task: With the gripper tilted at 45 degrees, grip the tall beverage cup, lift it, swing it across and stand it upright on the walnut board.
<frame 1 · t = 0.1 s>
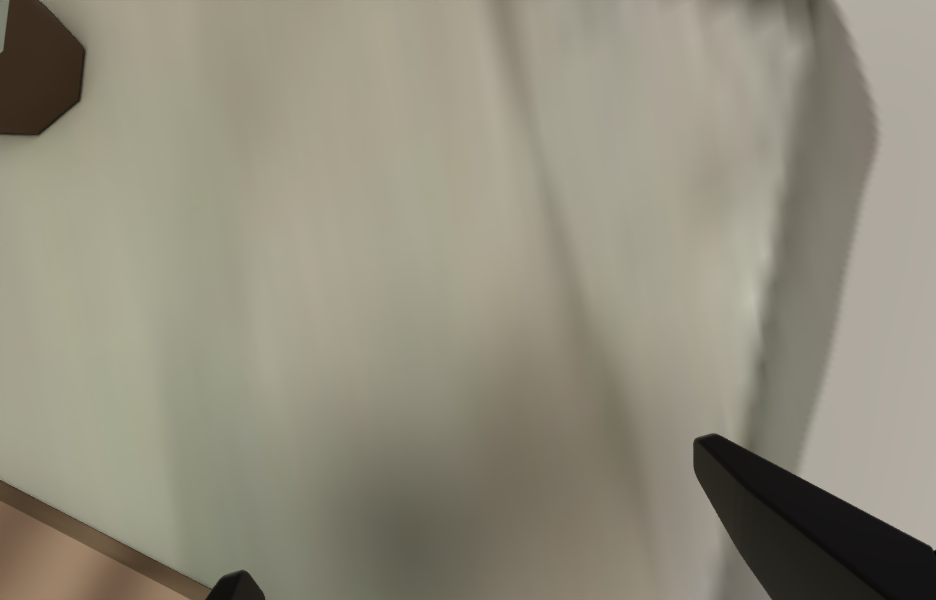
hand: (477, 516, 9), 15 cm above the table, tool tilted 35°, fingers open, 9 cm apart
beer bottle: (22, 75, 26), on the table
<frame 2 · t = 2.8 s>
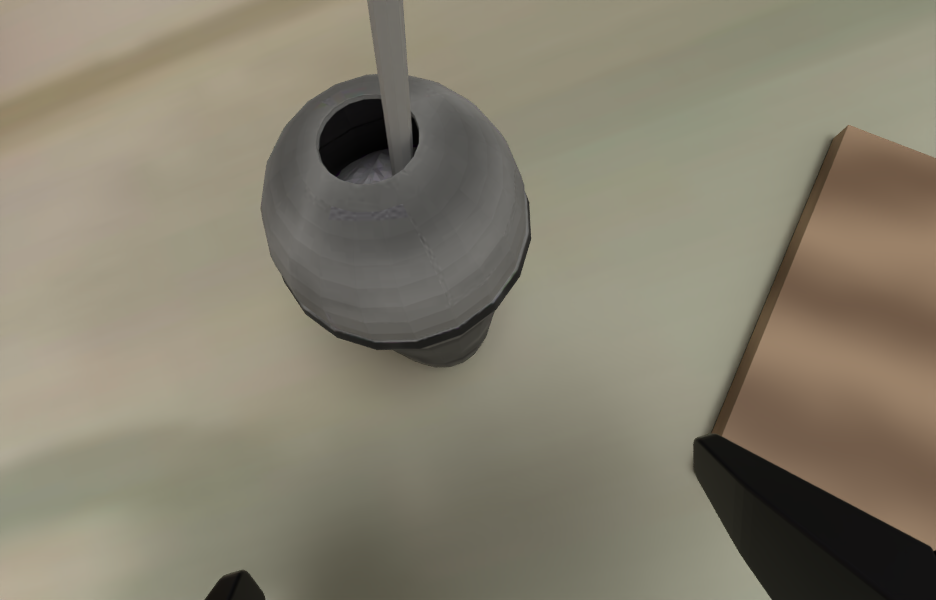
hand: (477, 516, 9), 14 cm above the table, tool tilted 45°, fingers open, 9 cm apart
beverage cup: (443, 324, 25), on the table
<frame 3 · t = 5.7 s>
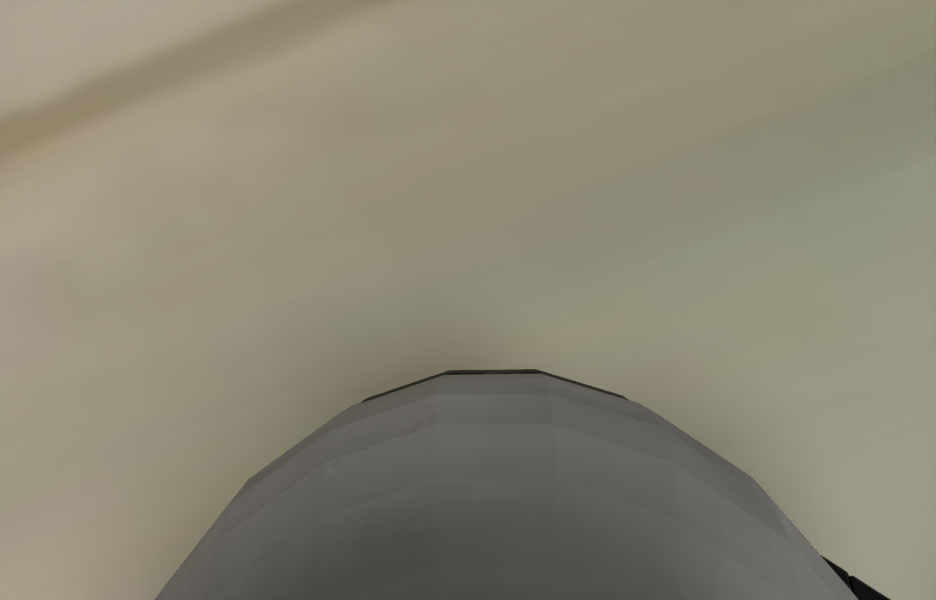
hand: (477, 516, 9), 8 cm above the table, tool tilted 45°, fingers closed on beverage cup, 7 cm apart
beverage cup: (495, 528, 16), on the table, touching gripper
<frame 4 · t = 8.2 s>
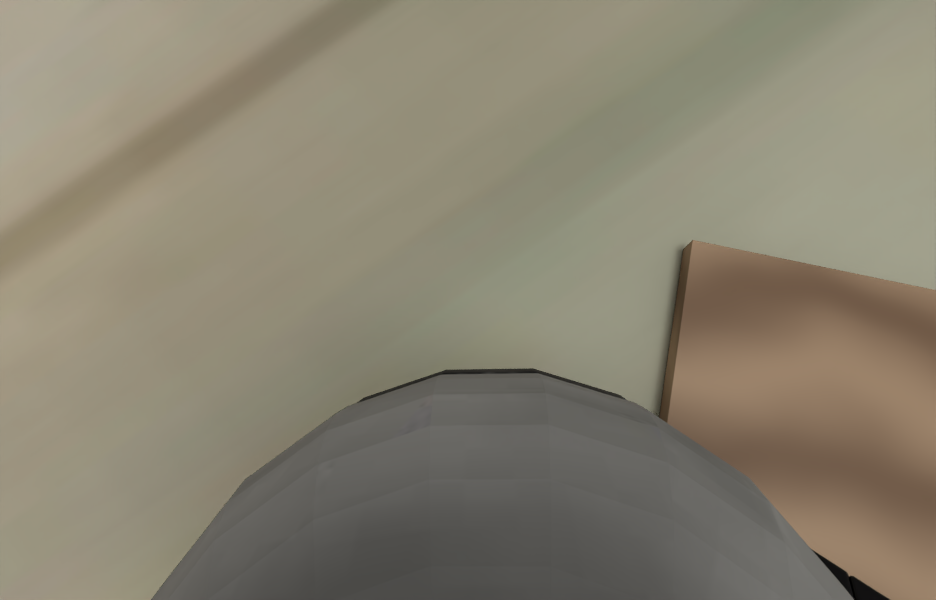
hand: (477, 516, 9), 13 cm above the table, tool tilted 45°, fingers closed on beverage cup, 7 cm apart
beverage cup: (494, 526, 16), point 5 cm above the table, touching gripper
walnut board: (887, 506, 21), on the table
when the fingers open (10 cm above the table, at t = 11.0 s): beverage cup stays where it is, resting on walnut board.
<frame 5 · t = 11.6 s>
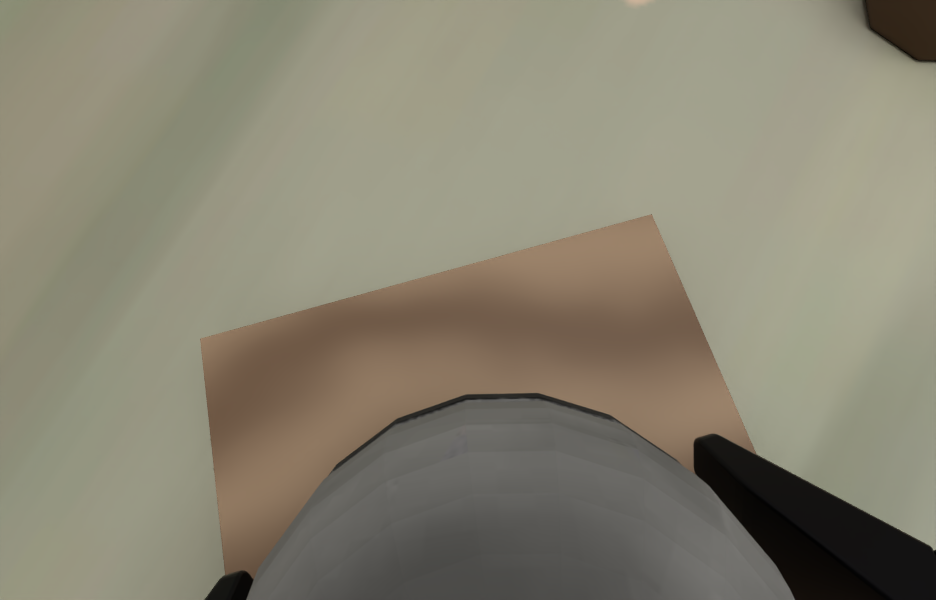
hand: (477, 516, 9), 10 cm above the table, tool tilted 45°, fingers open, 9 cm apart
beer bottle: (931, 12, 25), on the table
beverage cup: (496, 521, 18), point 1 cm above the table, touching walnut board
walnut board: (495, 517, 19), on the table
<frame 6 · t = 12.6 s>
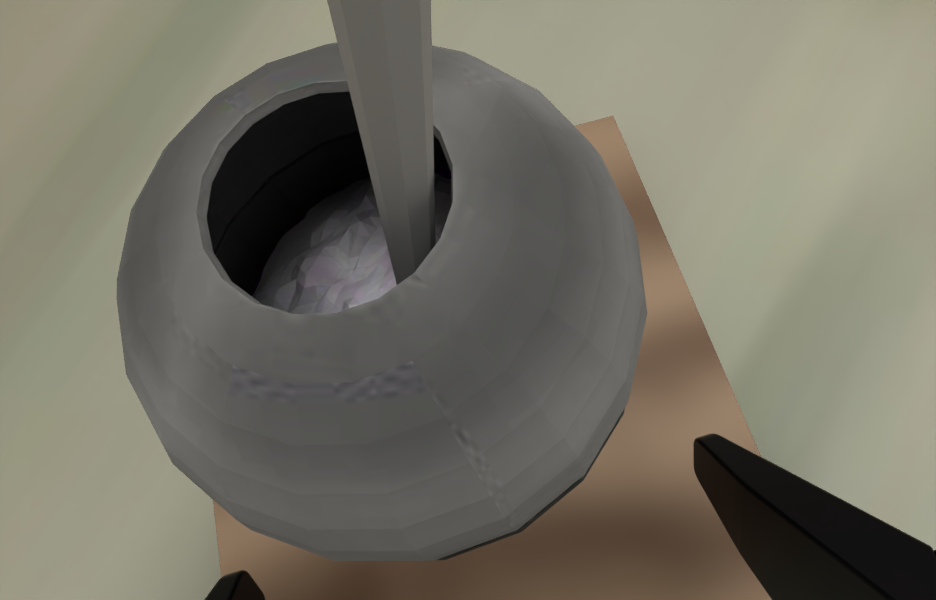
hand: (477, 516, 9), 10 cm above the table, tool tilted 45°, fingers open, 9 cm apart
beverage cup: (461, 389, 19), point 1 cm above the table, touching walnut board
walnut board: (461, 391, 20), on the table
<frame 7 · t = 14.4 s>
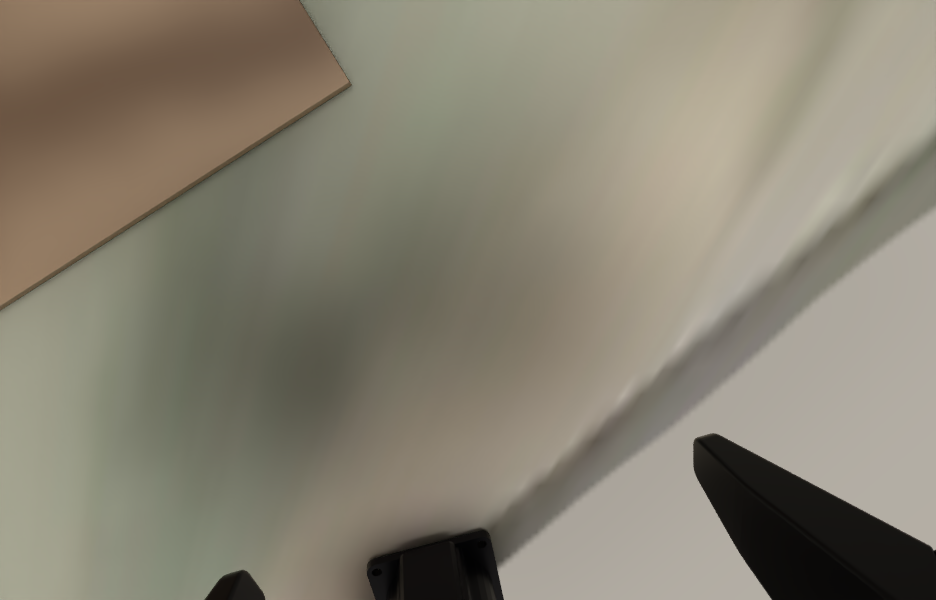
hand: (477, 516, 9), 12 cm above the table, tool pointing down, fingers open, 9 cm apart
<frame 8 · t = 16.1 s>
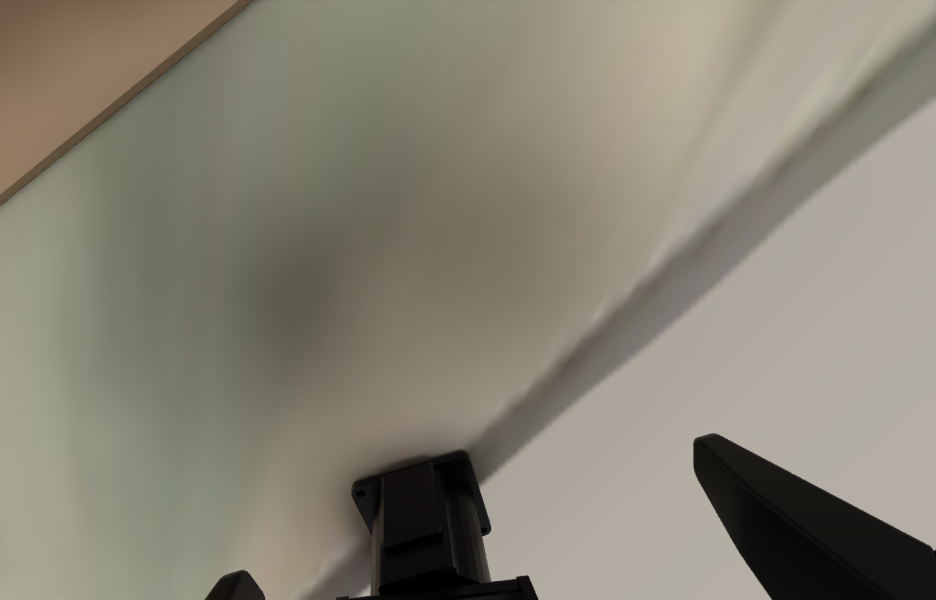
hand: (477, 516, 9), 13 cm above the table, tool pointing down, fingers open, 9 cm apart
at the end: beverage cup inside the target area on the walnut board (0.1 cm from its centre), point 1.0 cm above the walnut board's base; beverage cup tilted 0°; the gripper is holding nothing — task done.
